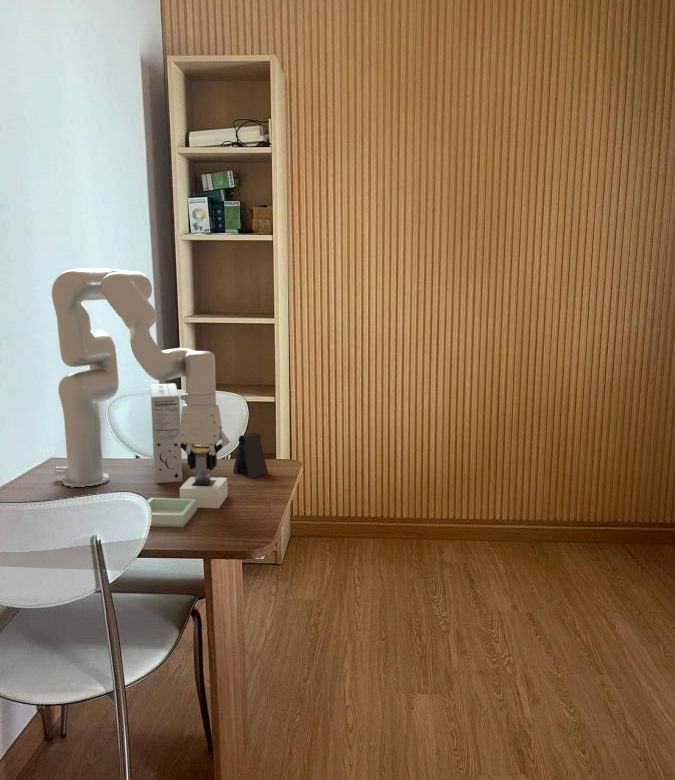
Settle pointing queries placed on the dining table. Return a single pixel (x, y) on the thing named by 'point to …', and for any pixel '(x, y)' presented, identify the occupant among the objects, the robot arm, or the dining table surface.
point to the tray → (172, 511)
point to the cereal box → (166, 432)
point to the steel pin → (201, 464)
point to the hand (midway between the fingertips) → (202, 467)
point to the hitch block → (205, 492)
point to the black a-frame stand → (250, 457)
